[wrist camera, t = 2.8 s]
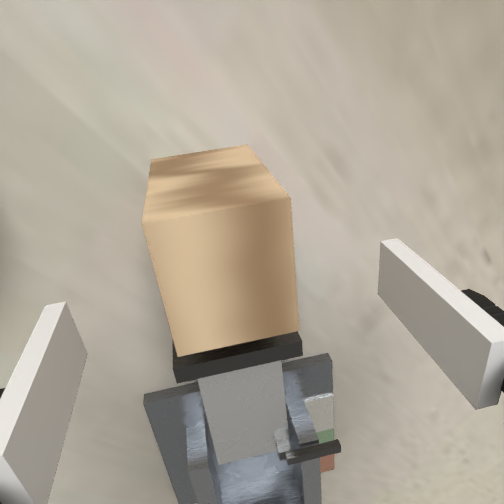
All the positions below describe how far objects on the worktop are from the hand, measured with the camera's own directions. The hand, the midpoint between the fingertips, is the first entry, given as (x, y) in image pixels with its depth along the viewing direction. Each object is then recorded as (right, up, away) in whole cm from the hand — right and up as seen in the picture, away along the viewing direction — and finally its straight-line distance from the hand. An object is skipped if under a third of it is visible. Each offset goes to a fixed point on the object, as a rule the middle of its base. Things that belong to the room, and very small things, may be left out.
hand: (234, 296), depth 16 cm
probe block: (-2, +5, +10) cm, 11 cm away
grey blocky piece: (+1, -8, +15) cm, 17 cm away
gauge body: (0, -15, +20) cm, 25 cm away
